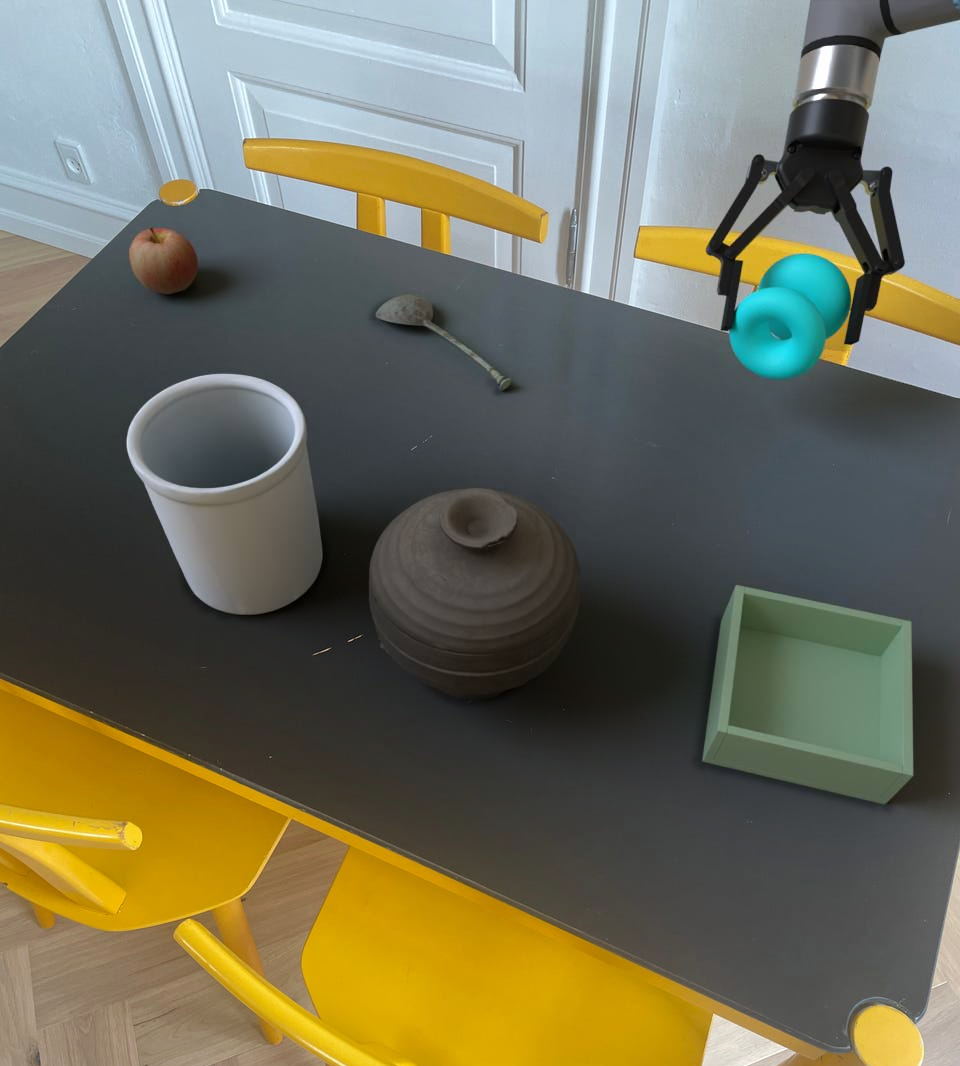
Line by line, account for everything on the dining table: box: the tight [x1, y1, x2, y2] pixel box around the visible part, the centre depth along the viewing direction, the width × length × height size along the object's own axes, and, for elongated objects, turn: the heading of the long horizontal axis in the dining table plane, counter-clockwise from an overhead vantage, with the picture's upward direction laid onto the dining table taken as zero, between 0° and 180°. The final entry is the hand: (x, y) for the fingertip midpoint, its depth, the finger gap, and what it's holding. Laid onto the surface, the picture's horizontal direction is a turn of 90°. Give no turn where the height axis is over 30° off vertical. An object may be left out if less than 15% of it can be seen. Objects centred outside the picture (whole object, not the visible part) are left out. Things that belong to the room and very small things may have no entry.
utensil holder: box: [126, 373, 323, 616], centre depth 82 cm, size 15×15×18 cm
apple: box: [128, 226, 199, 295], centre depth 111 cm, size 8×8×8 cm
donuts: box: [728, 252, 852, 381], centre depth 93 cm, size 10×10×10 cm
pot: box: [368, 487, 581, 701], centre depth 76 cm, size 18×18×20 cm
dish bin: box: [702, 584, 914, 805], centre depth 78 cm, size 16×16×6 cm
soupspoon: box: [375, 294, 512, 391], centre depth 107 cm, size 22×3×7 cm
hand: (788, 336), depth 92 cm, fingers closed on donuts, 12 cm apart
